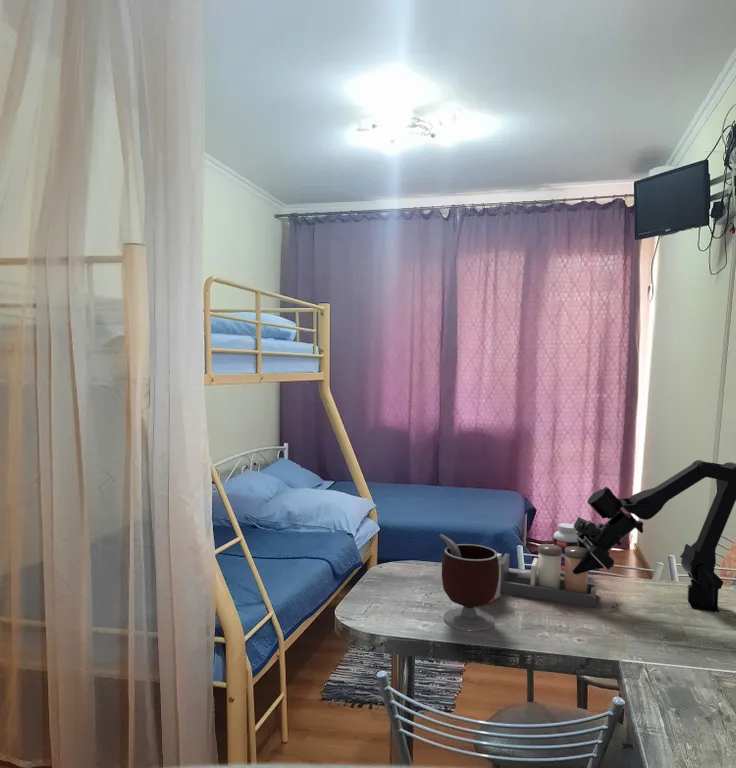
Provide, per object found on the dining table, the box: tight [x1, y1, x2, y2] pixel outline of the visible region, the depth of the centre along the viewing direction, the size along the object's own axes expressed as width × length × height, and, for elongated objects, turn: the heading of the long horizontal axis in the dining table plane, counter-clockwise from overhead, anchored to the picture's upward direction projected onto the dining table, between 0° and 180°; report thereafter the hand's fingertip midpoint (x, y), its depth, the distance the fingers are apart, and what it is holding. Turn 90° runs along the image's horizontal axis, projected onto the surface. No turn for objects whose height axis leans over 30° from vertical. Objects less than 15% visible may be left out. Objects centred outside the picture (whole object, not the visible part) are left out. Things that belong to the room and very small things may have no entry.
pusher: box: [516, 557, 538, 586], centre depth 172 cm, size 5×7×8 cm
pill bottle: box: [552, 522, 580, 576], centre depth 188 cm, size 8×8×14 cm
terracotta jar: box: [563, 546, 589, 594], centre depth 167 cm, size 6×6×13 cm
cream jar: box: [537, 543, 562, 590], centre depth 170 cm, size 6×6×13 cm
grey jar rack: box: [500, 553, 597, 609], centre depth 170 cm, size 25×10×8 cm, turn 68°
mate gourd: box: [439, 533, 499, 632], centre depth 151 cm, size 16×14×20 cm
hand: (571, 568), depth 167 cm, fingers open, 6 cm apart
